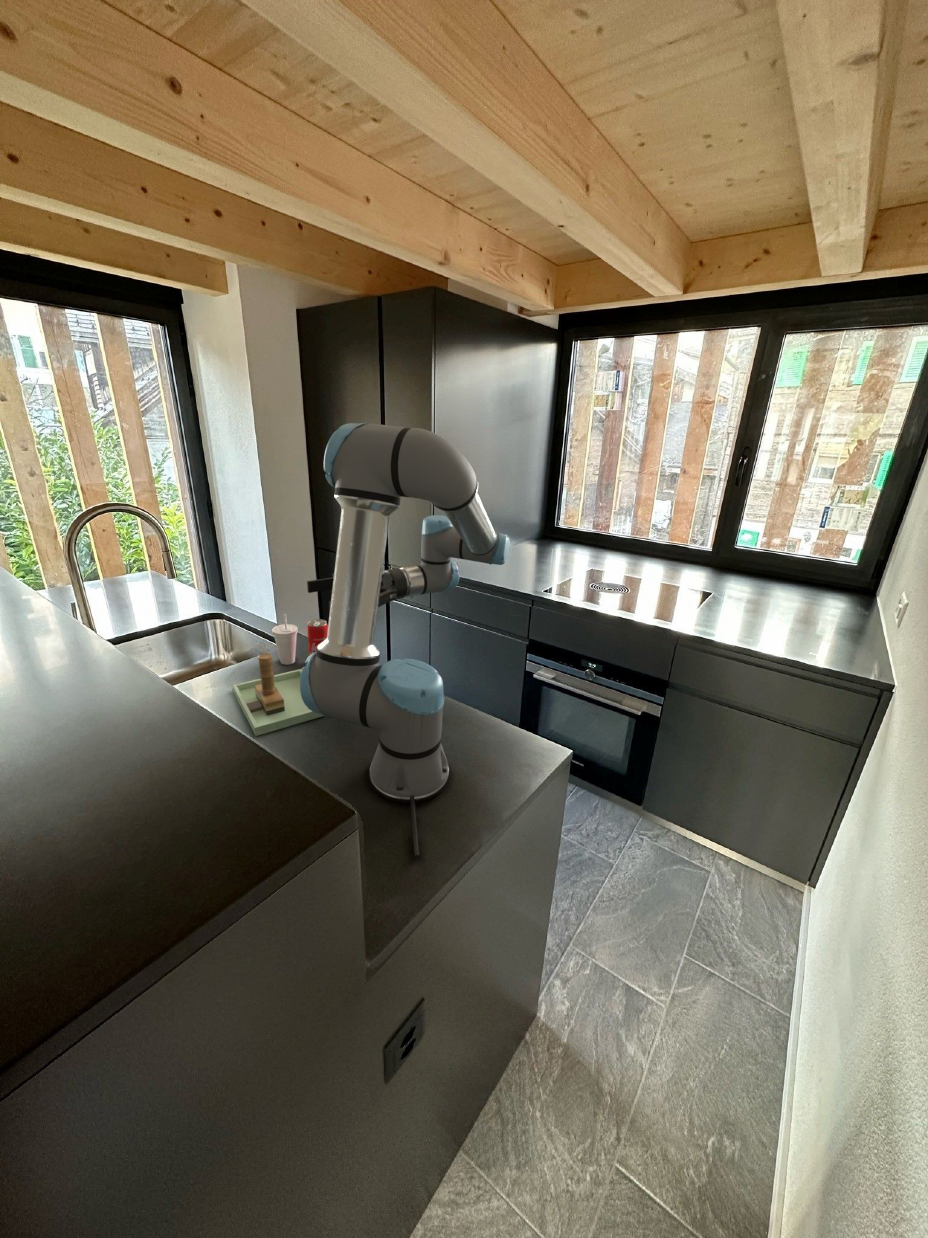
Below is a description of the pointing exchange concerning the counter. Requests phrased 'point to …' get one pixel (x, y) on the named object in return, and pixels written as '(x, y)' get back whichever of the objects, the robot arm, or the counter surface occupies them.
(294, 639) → the smoothie
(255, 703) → the pad
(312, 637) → the beverage can
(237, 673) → the counter surface
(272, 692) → the brush
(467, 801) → the counter surface
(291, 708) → the tray
